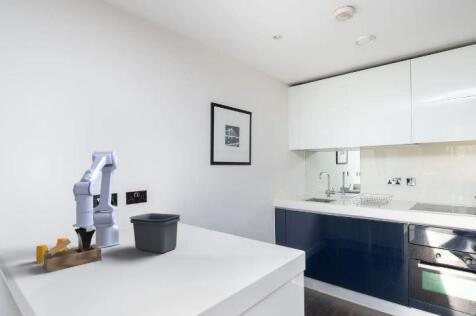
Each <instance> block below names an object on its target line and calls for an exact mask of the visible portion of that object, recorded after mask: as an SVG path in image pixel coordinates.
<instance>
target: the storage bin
mask: <svg viewBox="0 0 476 316" xmlns="http://www.w3.org/2000/svg"><path fill="white" fill-rule="evenodd" d="M181 216H182V215H181V214H176V213H175V214H173V213H157V212H156V213H155V212H152V213H151V212H149V213H144V214H139V215H133V216H129V223H130V224H132V227H133V236H134V246H135V249H136V250H140V251H145V252H146V251H147V252H153V253H158V254H164V253H167V252H170V251H171V250H174V249H176V248H177V238H178V236H177V235H178V222H181Z"/></svg>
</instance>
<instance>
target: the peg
mask: <svg viewBox="0 0 476 316" xmlns="http://www.w3.org/2000/svg"><path fill="white" fill-rule="evenodd" d="M77 244H78V245H77V246H78V247H77V248H78V253H80V252H85V251H90V248H87V249H83V246H82V240H81V237H80V234H79V233H78V235H77Z"/></svg>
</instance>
